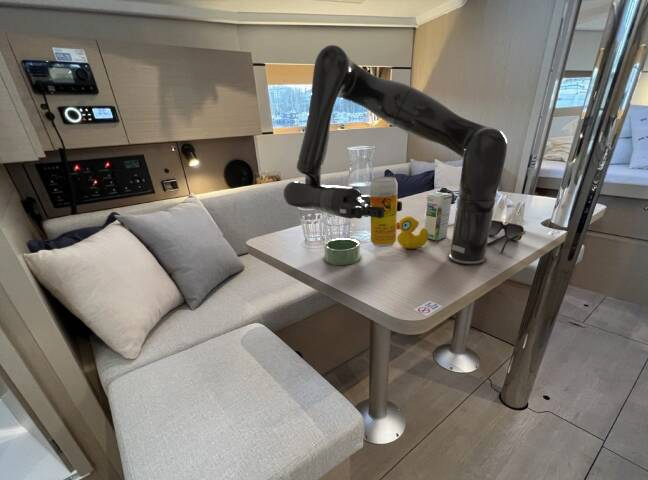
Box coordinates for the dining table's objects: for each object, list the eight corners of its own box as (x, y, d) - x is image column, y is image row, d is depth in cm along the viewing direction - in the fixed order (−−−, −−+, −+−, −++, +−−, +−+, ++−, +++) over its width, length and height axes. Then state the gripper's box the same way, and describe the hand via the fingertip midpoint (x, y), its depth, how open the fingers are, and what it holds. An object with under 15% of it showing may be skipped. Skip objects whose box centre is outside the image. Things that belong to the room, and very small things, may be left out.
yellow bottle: (375, 249, 74) (374, 182, 67) (368, 241, 79) (366, 178, 72) (399, 245, 75) (402, 179, 67) (391, 238, 80) (392, 175, 73)
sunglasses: (458, 243, 102) (460, 227, 100) (482, 232, 111) (485, 218, 108) (501, 253, 93) (505, 237, 90) (524, 241, 101) (528, 225, 99)
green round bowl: (340, 250, 102) (339, 236, 100) (366, 256, 96) (366, 242, 94) (318, 260, 96) (317, 245, 93) (344, 268, 89) (343, 253, 87)
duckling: (389, 249, 100) (390, 218, 95) (391, 244, 105) (392, 214, 100) (426, 251, 97) (429, 219, 92) (427, 245, 102) (430, 214, 97)
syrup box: (422, 237, 109) (426, 194, 102) (433, 233, 112) (438, 191, 105) (436, 241, 105) (441, 196, 98) (447, 237, 108) (453, 193, 101)
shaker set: (485, 224, 119) (491, 193, 113) (492, 222, 121) (498, 192, 115) (515, 231, 110) (522, 199, 104) (522, 229, 111) (530, 197, 106)
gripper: (318, 191, 76) (371, 199, 65) (358, 181, 85) (411, 186, 74) (321, 222, 80) (371, 234, 69) (359, 209, 88) (410, 218, 77)
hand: (392, 209), depth 71 cm, fingers closed on yellow bottle, 6 cm apart
